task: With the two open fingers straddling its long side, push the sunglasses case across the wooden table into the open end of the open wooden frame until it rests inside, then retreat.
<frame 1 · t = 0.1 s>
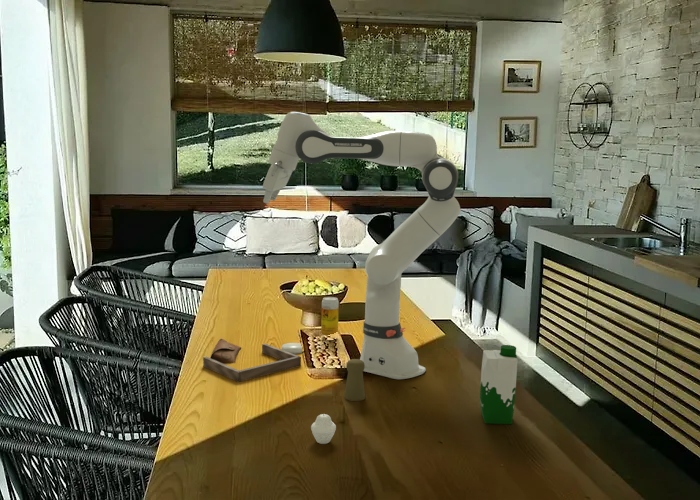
hand: (269, 201, 240), 52 cm above the table, tool tilted 20°, fingers open, 8 cm apart
pepper mill: (354, 397, 215), on the table
open wooden frame: (252, 366, 240), on the table
sunglasses case: (226, 357, 251), on the table
ring dish: (293, 350, 258), on the table
milk carton: (496, 419, 201), on the table
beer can: (329, 339, 273), on the table
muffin: (323, 442, 184), on the table
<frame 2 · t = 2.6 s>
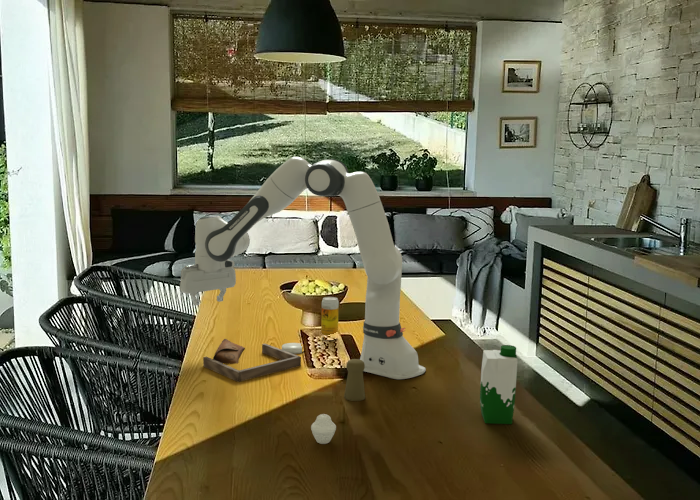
hand: (208, 303, 255), 16 cm above the table, tool pointing down, fingers open, 8 cm apart
sunglasses case: (229, 357, 251), on the table
everything else where it was.
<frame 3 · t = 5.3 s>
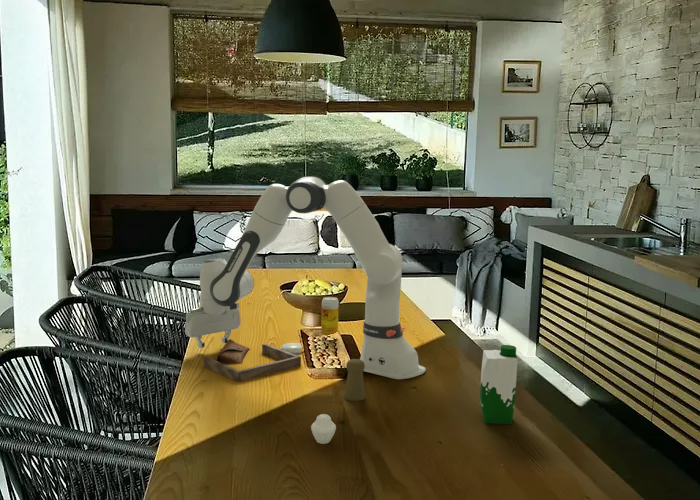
hand: (213, 345, 256), 2 cm above the table, tool pointing down, fingers open, 8 cm apart
sunglasses case: (233, 357, 250), on the table
everything else where it was.
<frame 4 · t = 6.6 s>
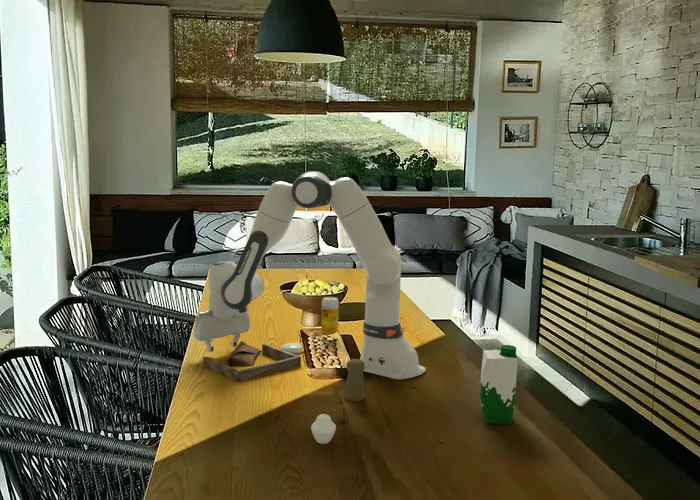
hand: (222, 349, 252), 2 cm above the table, tool pointing down, fingers open, 8 cm apart
sunglasses case: (245, 360, 248), on the table, touching gripper
everything else where it was.
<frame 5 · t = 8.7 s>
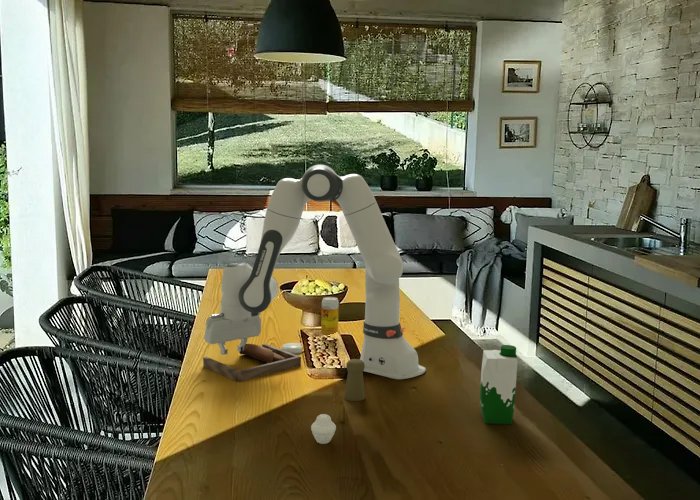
hand: (232, 352, 245), 2 cm above the table, tool pointing down, fingers open, 5 cm apart
sunglasses case: (264, 360, 247), on the table, touching open wooden frame, gripper
everything else where it was.
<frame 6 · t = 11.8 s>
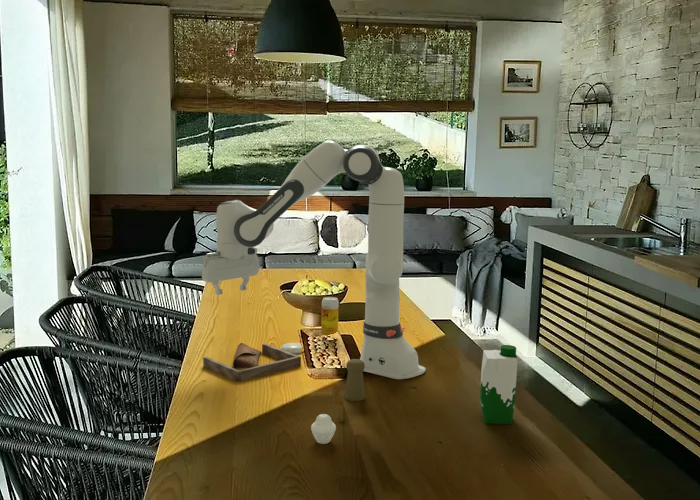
hand: (231, 292, 245), 22 cm above the table, tool pointing down, fingers open, 8 cm apart
sunglasses case: (247, 361, 246), on the table
everything else where it was.
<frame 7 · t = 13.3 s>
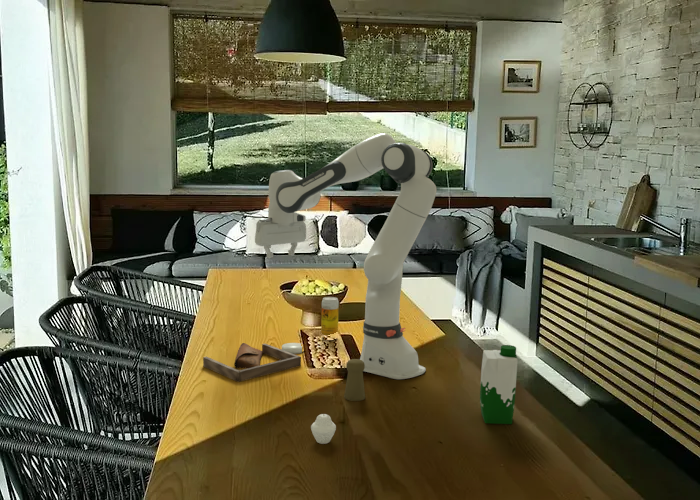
hand: (280, 256, 261), 31 cm above the table, tool pointing down, fingers open, 8 cm apart
nothing on the table moved.
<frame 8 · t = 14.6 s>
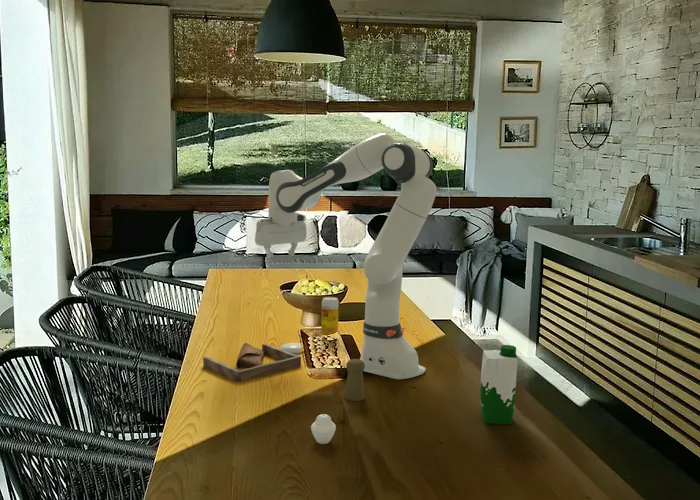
hand: (280, 256, 261), 31 cm above the table, tool pointing down, fingers open, 8 cm apart
at the end: sunglasses case inside the target area on the open wooden frame (7.0 cm from its centre), point -0.7 cm above the open wooden frame's base; sunglasses case moved 10.3 cm from its start; the gripper is holding nothing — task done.
